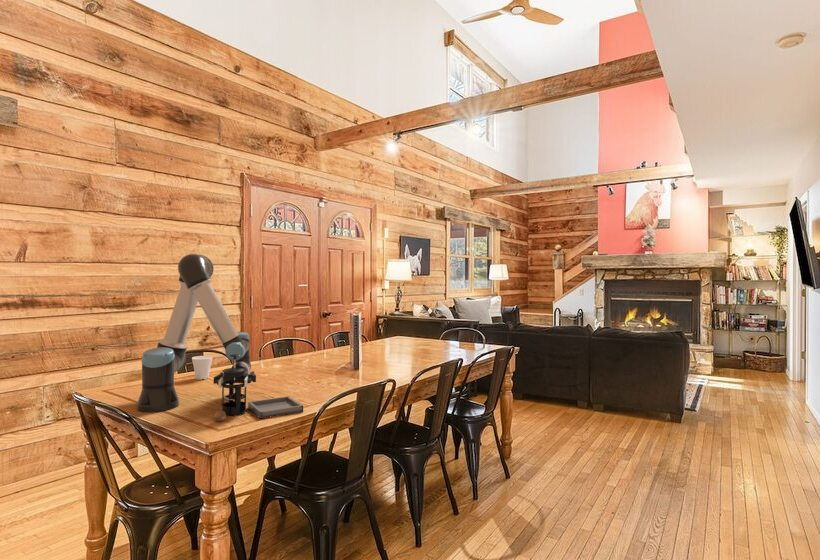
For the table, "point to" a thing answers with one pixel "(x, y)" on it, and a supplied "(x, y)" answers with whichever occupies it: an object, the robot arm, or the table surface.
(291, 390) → the table surface
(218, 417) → the wooden ball
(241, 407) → the french press
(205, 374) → the cup
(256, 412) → the tray
